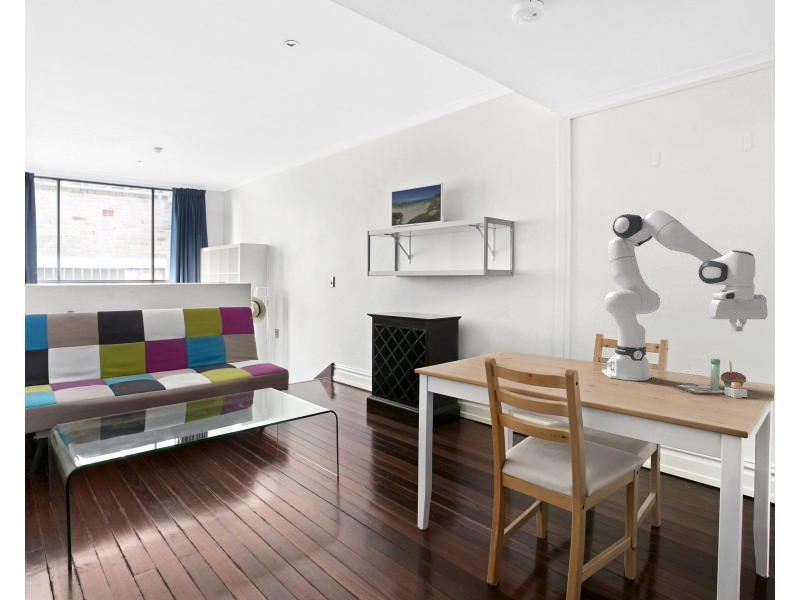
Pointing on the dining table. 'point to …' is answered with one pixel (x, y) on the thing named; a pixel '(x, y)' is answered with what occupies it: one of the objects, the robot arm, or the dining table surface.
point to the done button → (735, 385)
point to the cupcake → (732, 377)
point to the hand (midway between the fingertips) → (737, 331)
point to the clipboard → (699, 389)
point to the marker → (715, 374)
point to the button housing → (735, 392)
